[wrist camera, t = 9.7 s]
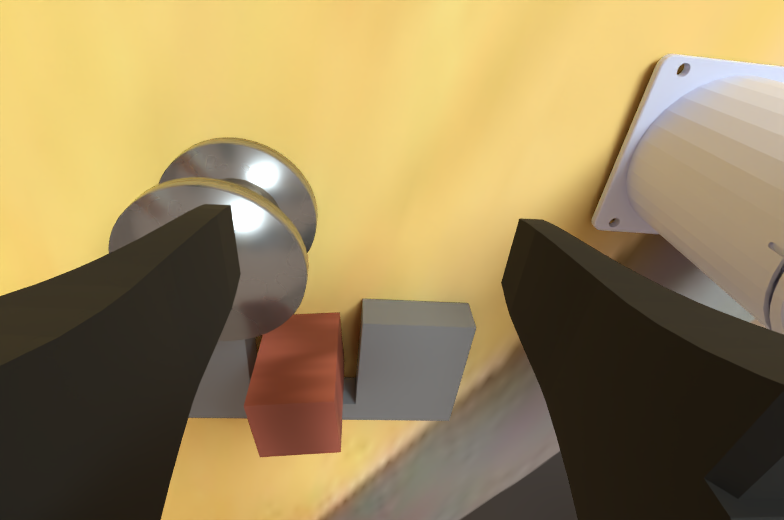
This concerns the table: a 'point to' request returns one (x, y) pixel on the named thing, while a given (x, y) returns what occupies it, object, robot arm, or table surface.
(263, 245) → the bobbin
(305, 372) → the block
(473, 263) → the table surface
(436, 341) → the notched board
